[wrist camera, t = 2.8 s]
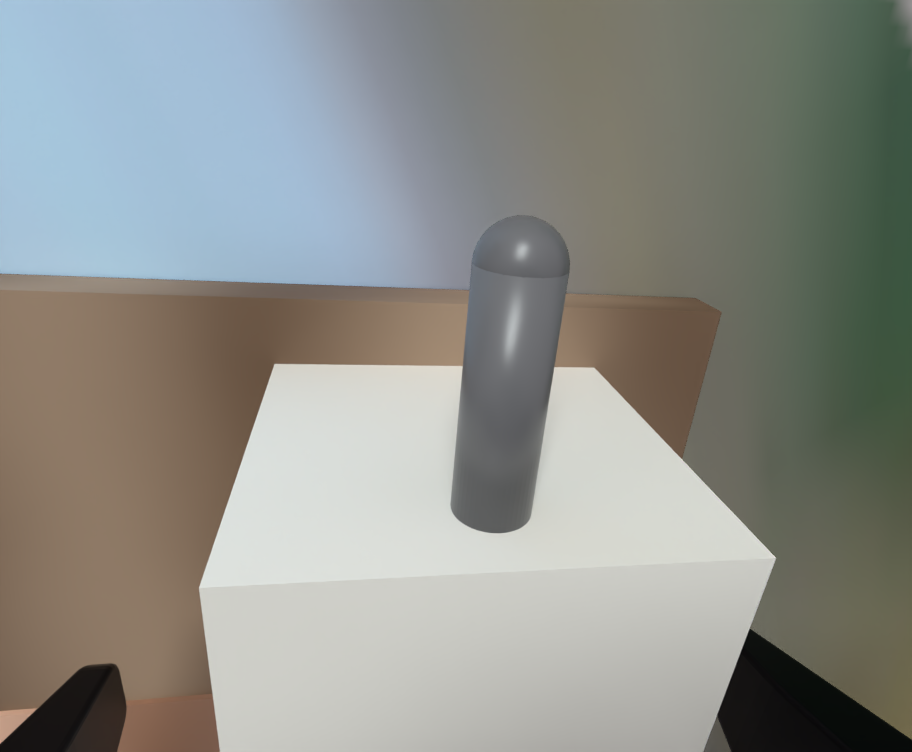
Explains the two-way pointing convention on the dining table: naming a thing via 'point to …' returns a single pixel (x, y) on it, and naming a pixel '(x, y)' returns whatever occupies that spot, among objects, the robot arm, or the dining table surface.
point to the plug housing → (473, 551)
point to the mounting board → (211, 451)
